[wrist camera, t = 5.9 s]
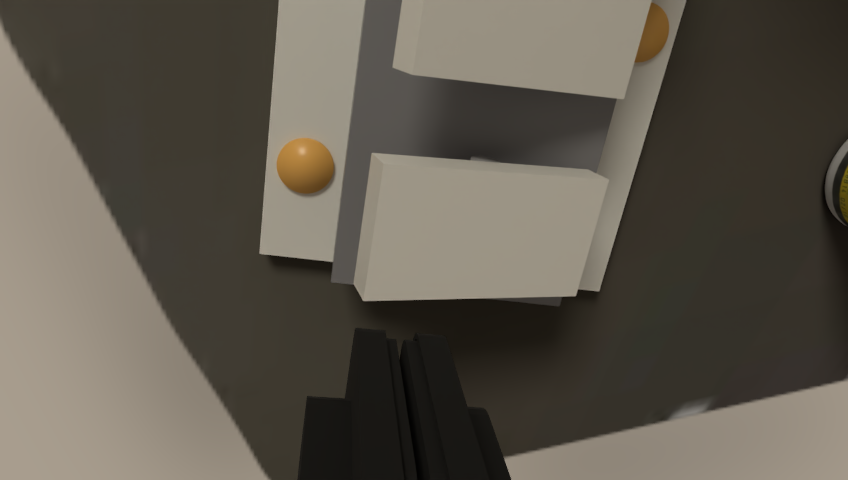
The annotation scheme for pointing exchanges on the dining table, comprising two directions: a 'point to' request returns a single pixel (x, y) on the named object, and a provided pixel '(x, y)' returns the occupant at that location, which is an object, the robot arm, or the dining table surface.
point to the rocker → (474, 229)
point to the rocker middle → (524, 42)
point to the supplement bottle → (838, 185)
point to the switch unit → (428, 127)
